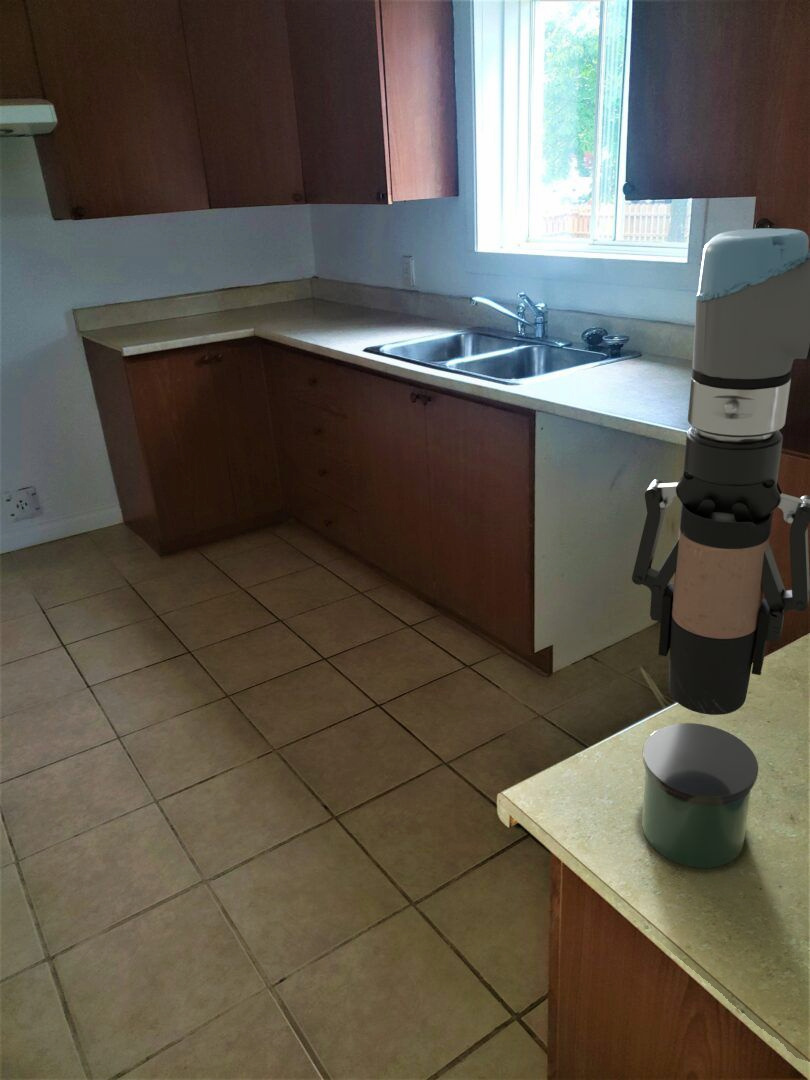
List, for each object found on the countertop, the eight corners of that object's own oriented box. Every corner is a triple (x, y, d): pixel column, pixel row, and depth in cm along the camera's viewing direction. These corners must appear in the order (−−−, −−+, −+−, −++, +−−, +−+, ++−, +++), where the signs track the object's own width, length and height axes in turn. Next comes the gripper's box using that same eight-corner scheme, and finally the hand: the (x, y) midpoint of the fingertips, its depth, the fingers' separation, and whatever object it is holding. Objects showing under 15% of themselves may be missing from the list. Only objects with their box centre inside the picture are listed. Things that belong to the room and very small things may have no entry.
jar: (739, 797, 88) (748, 726, 84) (756, 877, 79) (768, 801, 75) (635, 788, 91) (640, 719, 87) (640, 865, 81) (645, 791, 77)
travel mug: (663, 667, 84) (677, 487, 75) (742, 672, 82) (766, 488, 73) (668, 714, 77) (684, 522, 68) (754, 720, 75) (782, 524, 67)
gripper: (600, 431, 70) (593, 655, 79) (874, 454, 60) (828, 704, 70) (622, 406, 75) (613, 618, 85) (875, 424, 66) (832, 658, 76)
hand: (710, 657), depth 78 cm, fingers closed on travel mug, 8 cm apart
